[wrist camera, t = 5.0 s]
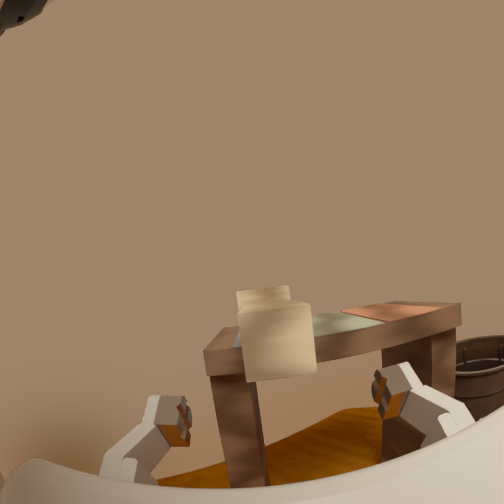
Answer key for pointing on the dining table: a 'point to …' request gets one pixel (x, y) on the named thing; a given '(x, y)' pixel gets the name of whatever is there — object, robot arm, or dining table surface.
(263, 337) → the marker stick
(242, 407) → the shelf
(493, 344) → the plant pot
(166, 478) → the dining table surface
